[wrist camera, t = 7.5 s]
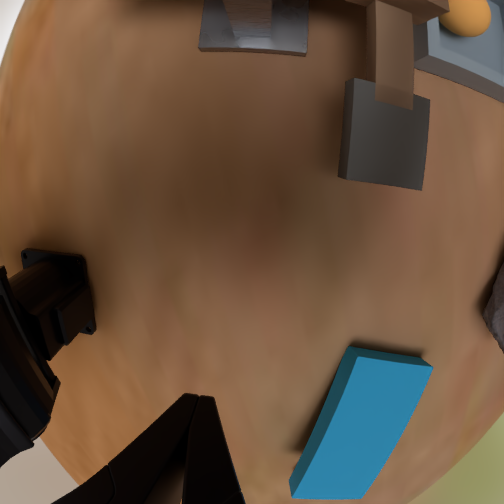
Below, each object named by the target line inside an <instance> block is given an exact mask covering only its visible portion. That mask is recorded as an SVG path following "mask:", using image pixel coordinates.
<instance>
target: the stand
mask: <svg viewBox="0 0 504 504" xmlns="http://www.w3.org/2000/svg"><path fill="white" fill-rule="evenodd" d="M308 13H309V0H204V7H203V15H202V22H201V30H200V38H199V47H198V48H199V49H200V51H201V52H202V51H233V52H258V53H273V54H285V55H294V56H303V57H305V55H306V53H307V35H308Z"/></svg>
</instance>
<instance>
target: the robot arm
mask: <svg viewBox="0 0 504 504" xmlns="http://www.w3.org/2000/svg"><path fill="white" fill-rule="evenodd" d="M26 255H27V256H26ZM21 258H22V264H23V270H22V271H20V272H19V273H17V274H16V275H14V276H13V277H11V278H9V279H8V278H7V275H6V274H7V272H6V269H5V266H4V265H3V266H0V467H1V466H2V465H4V464H5V463H6V462H7V461H8V460H9V459H10V458H12V457H13V456H15V455H16V454H18V453H20V452H22V451H24V450H27V449H30V448H32V447H33V446H34V443H33V441H34V440H35V439H37V438H38V437H39V436H40V435H41V434H42V433H43V432H44V431H45V429H46V428H47V425H48V423H49V422H50V419H51V413H52V409H53V406H54V403H55V399H56V396H57V393H58V390H59V387H60V384H61V382H60V381H59V379H58V377H57V376H55V375H54V373H53V371H52V370H51V368H50V366H49V364H48V363H47V361H46V360H48V361H51V359H52V358H53V357H54V356H55V355H56V354H57V352H58V351H59V350H60V349H61V348H62V347H63V346H64V345H66V346H67V345H69V344H70V342H71V341H72V340H73V339H74V338H75V337H76V336H77V334H78V333H79V332H80V333H84V334H89V335H92V334H93V333H94V332H95V331H96V325H95V320H94V311H93V305H92V299H91V292H90V287H89V284H88V277H87V269H86V261H85V259H84V257H83V256H82V255H78V254H70V253H61V252H53V251H44V250H36V249H28V248H26V249H24V250H22V252H21ZM77 260H78V261H79V262H80V264H79V263H78V262H77ZM89 327H90V328H91V329H90V328H89ZM181 499H182V504H246V503H245V500H244V497H243V494H242V492H241V488H240V485H239V482H238V479H237V476H236V472H235V469H234V466H233V463H232V459H231V456H230V452H229V449H228V446H227V442H226V439H225V435H224V432H223V428H222V424H221V421H220V417H219V413H218V410H217V406H216V402H215V399H214V397H212V396H205V395H200V396H199V395H197V394H191V393H184V394H183V395H182V396H181V397H180V398H179V399H178V400H177V401H176V402H174V403H173V404H172V405H171V406H170V407H169V408H168V409H167V410H166V411H165V412H164V413H163V414H162V415H161V416H160V417H159V418H158V419H157V420H155V421H154V422H153V423H152V424H151V425H150V426H149V427H148V428H147V429H146V430H145V431H144V432H142V433H141V434H140V435H139V436H138V437H137V438H136V439H135V440H134V441H133V442H131V443H130V444H129V445H128V446H127V447H126V448H125V449H124V450H123V451H121V452H120V453H119V454H118V455H117V456H116V457H115V458H114V459H112V460H111V461H110V462H109V463H108V465H105V466H104V467H103V468H102V469H101V470H100V471H98V472H97V473H96V474H95V475H94V476H92V477H91V478H90V479H88V480H87V481H86V482H85V483H83V484H82V485H80V486H79V487H77V488H76V489H74V490H73V491H71V492H70V493H68V494H66V495H65V496H63V497H61V498H60V499H58V500H57V501H55V502H53V503H51V504H180V502H181Z"/></svg>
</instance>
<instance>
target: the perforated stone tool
mask: <svg viewBox="0 0 504 504" xmlns="http://www.w3.org/2000/svg"><path fill="white" fill-rule="evenodd" d="M482 316H483V317H484V319H485V322H486V326H487V328H488V329H489V331H490V332H491V333H492V335H493V337H494V338H495V340H497V341H498V344H499V347H500V348H501V349H502V351H503V353H504V262H503V264H502V266H501V268H500V271H499V273H498V275H497V279H496V281H495V283H494V286H493V294H492V296H491V297H490V299H489V301H488V304H487V306H486V308H485V309H484V310H483V314H482Z"/></svg>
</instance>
